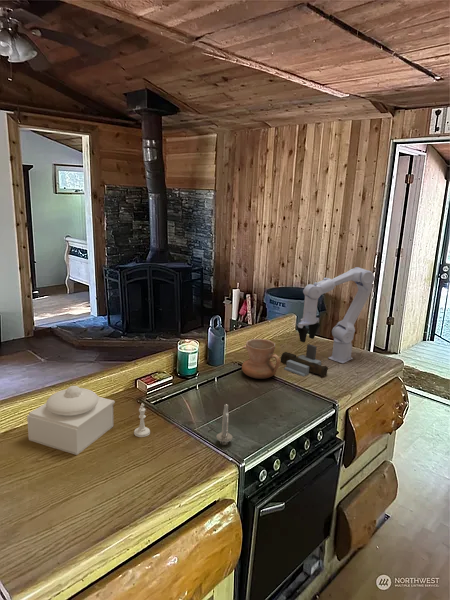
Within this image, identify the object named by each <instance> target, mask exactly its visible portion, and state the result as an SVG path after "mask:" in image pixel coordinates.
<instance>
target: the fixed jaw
mask: <svg viewBox="0 0 450 600" xmlns="http://www.w3.org/2000/svg"><path fill="white" fill-rule="evenodd" d="M285 365H286V364H285ZM283 370H284V371H287V372H290V373H293V374H295V375H298V376H301V377H306V376H307V375H309V374H310V371H309V366H306V365H304V364H301V363H298V362H295V361H292V360H288V361H287V365H286V366H285V367H284V368H283Z"/></svg>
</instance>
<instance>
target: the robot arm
mask: <svg viewBox="0 0 450 600" xmlns="http://www.w3.org/2000/svg"><path fill="white" fill-rule="evenodd" d="M375 280H376V279H375V276H374V273H373V271H371V270H368V269H365V268H362V267H359V266H356V267H354V268H351V269H348V271H346V272H344V273H341V274H339V275H338V276H336V277H333V278H330V277H324V278H323V280H320V281H318V282H316V281H315V282H313V284H312V283H308V284H306V286H305V287H304V289H302V293H303V295H304V302H303V305H304V306H303V312H302V313H303V314H302V318H300V322H298V325H296V330H297V331H298V336H299V342H301V343H305V342H306V339H307V335H308V338H309V339H311V340H314V339H315V336H316V334H317V331H318V329H320V327H321V324H320V323H319V322H320V318H319V317H317V309H318V303H319V302H318V301H319V298H320V297H321V296H322V295H323V294H326V293H329V292H332V291H333V290H334V289H335V287H337V286H339V285H342V284H344V283H348V282H350V281H352V282H354V283H355V284H356V286H357V292H356V294H355V296H354V297H353V299H352V301H351V302H350V305H349V308H348V309H347V311H346V313H345V315H344V316H343V318H342V320H340V321H338V322H337V323H336V324H335V326H334V327H333V328H332V329H331V335H332V336H333V344H332V345H333V346H332V352H331V353H332V354H331V356H328V357H327V359H328V360H331V361H334V362H337V363H341V364H345V363H347V362H349V361H351V360H353V357H352V350H353V343H352V342H353V340H354V336H355V333H356V329H355V328H356V327H355V324H356V321H357V320H358V318H359V316H360V314H361V312H362V310H363V308H364V307H365V305H366V303H367V301H368V299H369V297H370V295H371V293H372V291H373V283H374V281H375ZM307 326H308V327H307Z"/></svg>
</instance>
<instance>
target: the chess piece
mask: <svg viewBox="0 0 450 600" xmlns="http://www.w3.org/2000/svg"><path fill="white" fill-rule="evenodd" d="M138 412H139V415H138V418H139V420H140V421H139V426H138V427H137V428H135V429H134V431H133V434H134V436H136V437H138V438H145V437H148V436H149V435H150V434H151V430H150V428H149V427H146V425H145V418H146V417H147V416H146V415H145V412H146V408H145V403H141V405H140V406H139V408H138Z"/></svg>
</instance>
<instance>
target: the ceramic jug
mask: <svg viewBox="0 0 450 600" xmlns="http://www.w3.org/2000/svg"><path fill="white" fill-rule="evenodd" d="M242 348H243V349H245V350H247V354H248V359H246V360H245V361H243V363H242V365H241V370H242V372H243V374H244V375H246V376H247V377H250V378H253V379H257V380H258V379H260V380H262V379H269V378H271V377H273V376H275V375H276V373H277V370H278V368H279V367H280V364H281V357H279V355H277V354H276V353H275V349H276V343H275V342H274V341H272V340H269V339H264V338H252V339H248V340H247V341H245V345H243V346H242ZM274 353H275V354H274ZM272 358H275V360H276V362H275V363H276V364H275V363H274V362H272V361H271V359H272Z"/></svg>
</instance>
